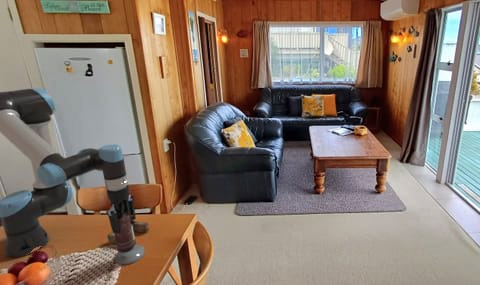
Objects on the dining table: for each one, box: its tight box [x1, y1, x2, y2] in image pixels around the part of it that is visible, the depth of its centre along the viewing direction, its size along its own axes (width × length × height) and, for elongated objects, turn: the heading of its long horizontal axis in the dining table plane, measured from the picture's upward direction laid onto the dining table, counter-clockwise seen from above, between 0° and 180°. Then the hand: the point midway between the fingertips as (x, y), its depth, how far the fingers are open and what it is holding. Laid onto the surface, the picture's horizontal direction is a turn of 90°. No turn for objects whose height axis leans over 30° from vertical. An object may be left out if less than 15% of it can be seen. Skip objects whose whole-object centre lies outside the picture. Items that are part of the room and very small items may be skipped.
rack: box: [107, 220, 150, 245], centre depth 126 cm, size 12×12×4 cm
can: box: [115, 212, 134, 253], centre depth 110 cm, size 6×6×14 cm
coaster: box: [114, 244, 146, 266], centre depth 115 cm, size 11×11×1 cm
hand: (128, 242), depth 113 cm, fingers open, 3 cm apart
